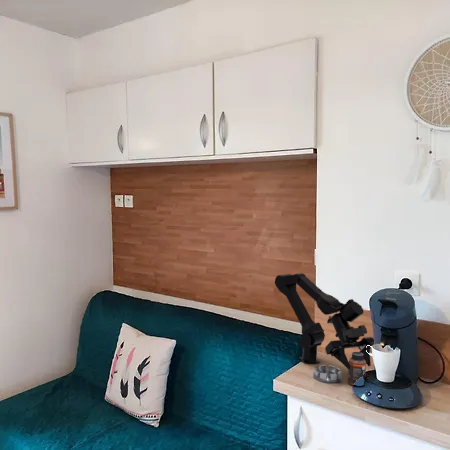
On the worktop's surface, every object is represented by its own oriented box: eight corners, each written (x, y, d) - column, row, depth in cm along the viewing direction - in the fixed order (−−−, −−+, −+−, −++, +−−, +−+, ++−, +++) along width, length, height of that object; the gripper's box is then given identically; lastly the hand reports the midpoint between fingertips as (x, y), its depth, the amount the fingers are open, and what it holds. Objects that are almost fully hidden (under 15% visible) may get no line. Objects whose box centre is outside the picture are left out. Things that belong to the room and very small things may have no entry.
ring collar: (309, 372, 173) (309, 365, 173) (334, 371, 175) (334, 363, 175) (320, 384, 163) (320, 376, 162) (347, 382, 165) (347, 374, 165)
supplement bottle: (368, 387, 161) (369, 356, 160) (352, 387, 160) (353, 356, 160) (360, 380, 167) (361, 350, 166) (345, 380, 166) (346, 350, 165)
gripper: (330, 319, 163) (348, 360, 153) (373, 315, 169) (392, 354, 160) (318, 334, 170) (333, 374, 161) (359, 330, 177) (376, 368, 167)
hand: (359, 367), depth 162 cm, fingers open, 8 cm apart
